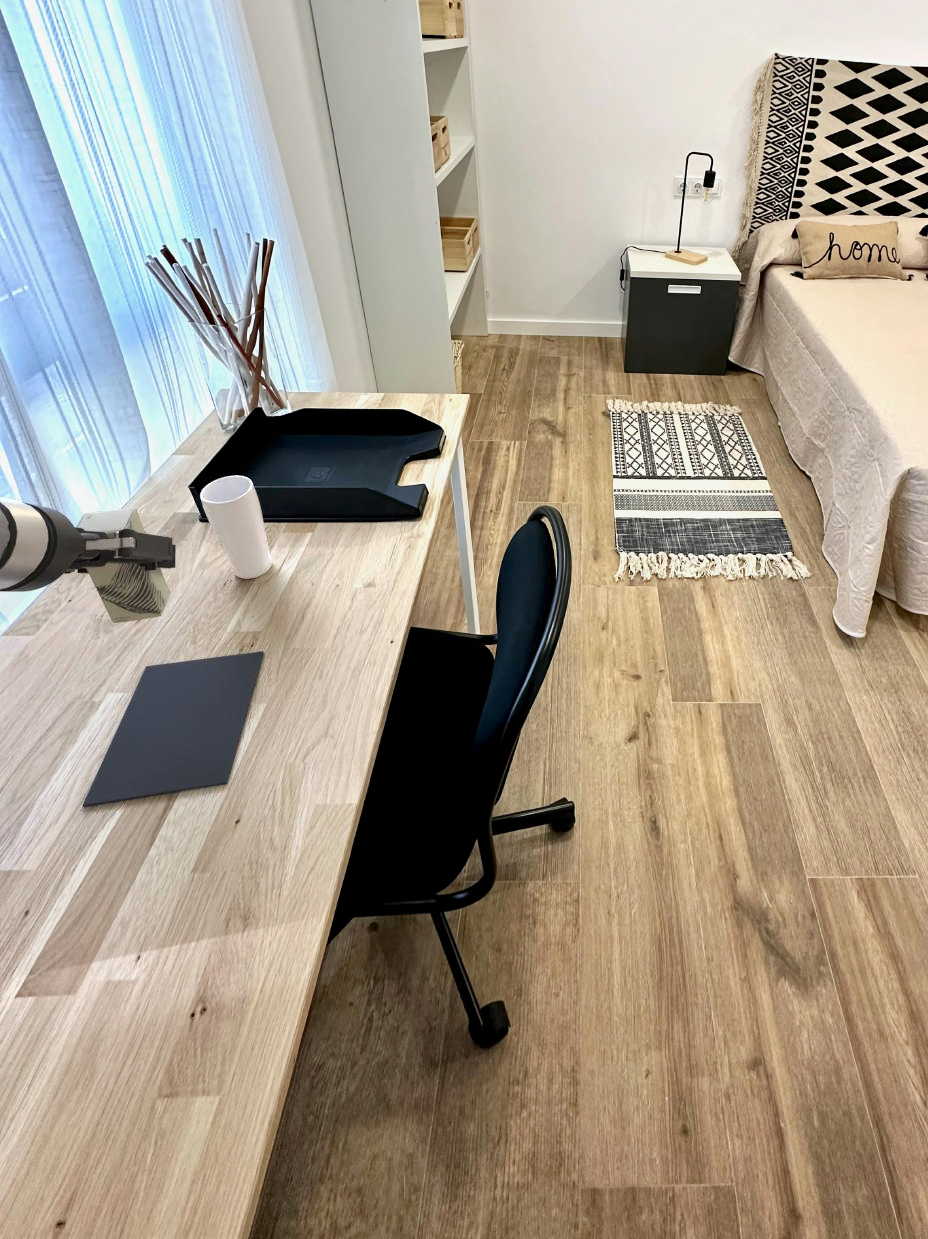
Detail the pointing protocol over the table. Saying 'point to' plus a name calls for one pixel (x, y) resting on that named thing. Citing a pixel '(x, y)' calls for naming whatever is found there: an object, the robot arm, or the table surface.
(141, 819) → the table surface
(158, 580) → the box
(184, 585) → the table surface
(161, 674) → the dark blue mat
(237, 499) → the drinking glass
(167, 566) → the robot arm
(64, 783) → the table surface
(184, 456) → the table surface
